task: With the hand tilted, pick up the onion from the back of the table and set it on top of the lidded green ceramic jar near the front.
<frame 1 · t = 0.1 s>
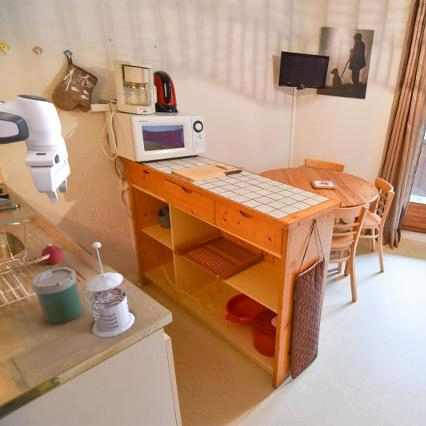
hand: (59, 196, 99), 25 cm above the countertop, tool pointing down, fingers open, 8 cm apart
jar: (64, 313, 88), on the countertop
french press: (111, 323, 86), on the countertop
onion: (55, 264, 108), on the countertop
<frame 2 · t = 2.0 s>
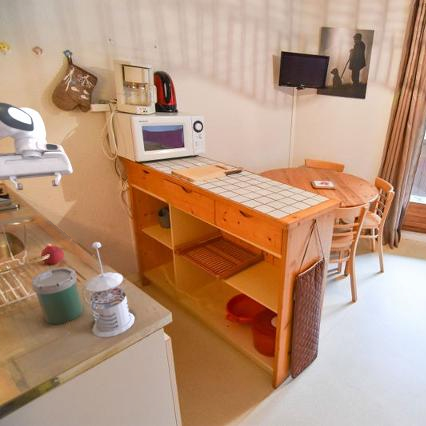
hand: (38, 187, 107), 24 cm above the countertop, tool tilted 45°, fingers open, 8 cm apart
nothing on the countertop moved.
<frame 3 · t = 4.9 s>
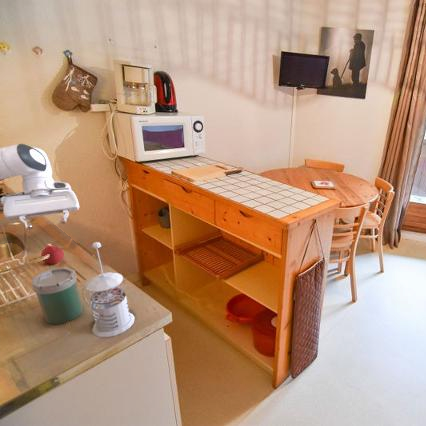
hand: (47, 225, 110), 11 cm above the countertop, tool tilted 45°, fingers open, 8 cm apart
nothing on the countertop moved.
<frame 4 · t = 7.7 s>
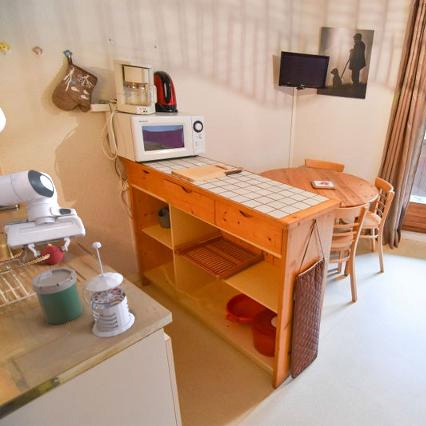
hand: (52, 254, 106), 4 cm above the countertop, tool tilted 45°, fingers closed on onion, 6 cm apart
onion: (55, 265, 108), on the countertop, touching gripper
everything else where it was.
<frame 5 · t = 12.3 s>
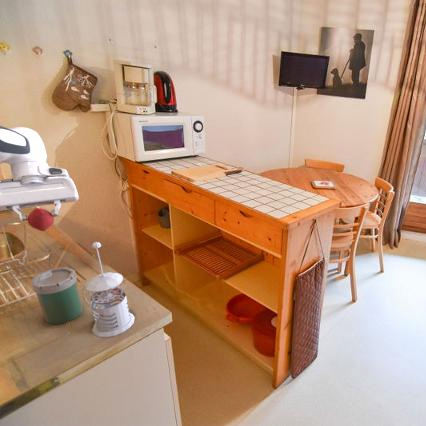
hand: (40, 218, 93), 21 cm above the countertop, tool tilted 45°, fingers closed on onion, 6 cm apart
onion: (44, 231, 95), point 17 cm above the countertop, touching gripper
everything else where it was.
when the fingers open (16 cm above the countertop, at t = 17.0 s): onion stays where it is, resting on jar.
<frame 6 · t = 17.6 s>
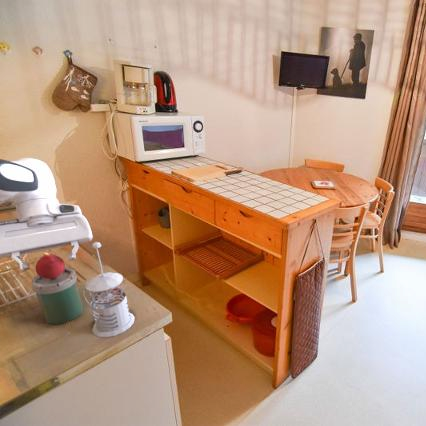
hand: (49, 264, 81), 16 cm above the countertop, tool tilted 45°, fingers open, 8 cm apart
onion: (54, 279, 83), point 11 cm above the countertop, touching jar
everything else where it was.
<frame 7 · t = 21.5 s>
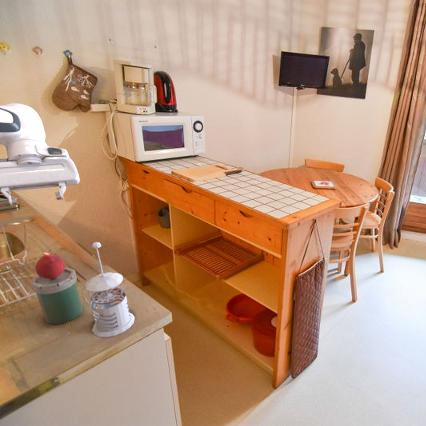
hand: (37, 201, 85), 29 cm above the countertop, tool tilted 45°, fingers open, 8 cm apart
nothing on the countertop moved.
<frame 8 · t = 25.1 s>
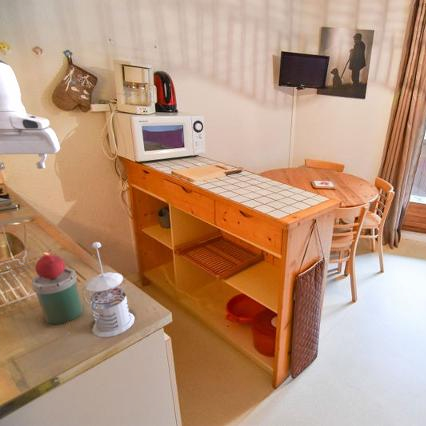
hand: (21, 168, 94), 34 cm above the countertop, tool pointing down, fingers open, 8 cm apart
nothing on the countertop moved.
at the end: onion 0.1 cm off-centre on the jar, point 11.3 cm above the jar's base; the gripper is holding nothing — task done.
